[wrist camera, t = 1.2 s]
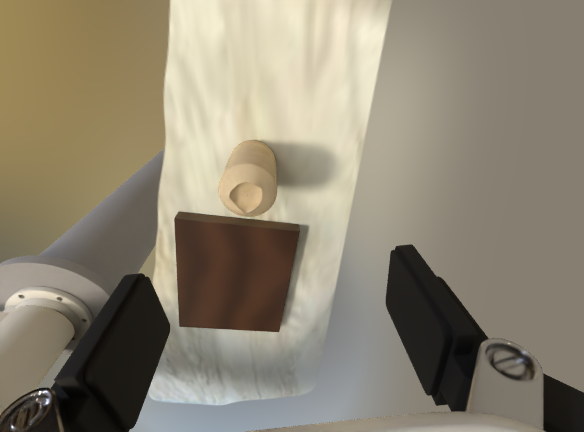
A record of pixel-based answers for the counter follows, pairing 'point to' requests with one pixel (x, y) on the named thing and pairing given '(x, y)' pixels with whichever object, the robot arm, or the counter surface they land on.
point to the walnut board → (233, 271)
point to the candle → (249, 179)
